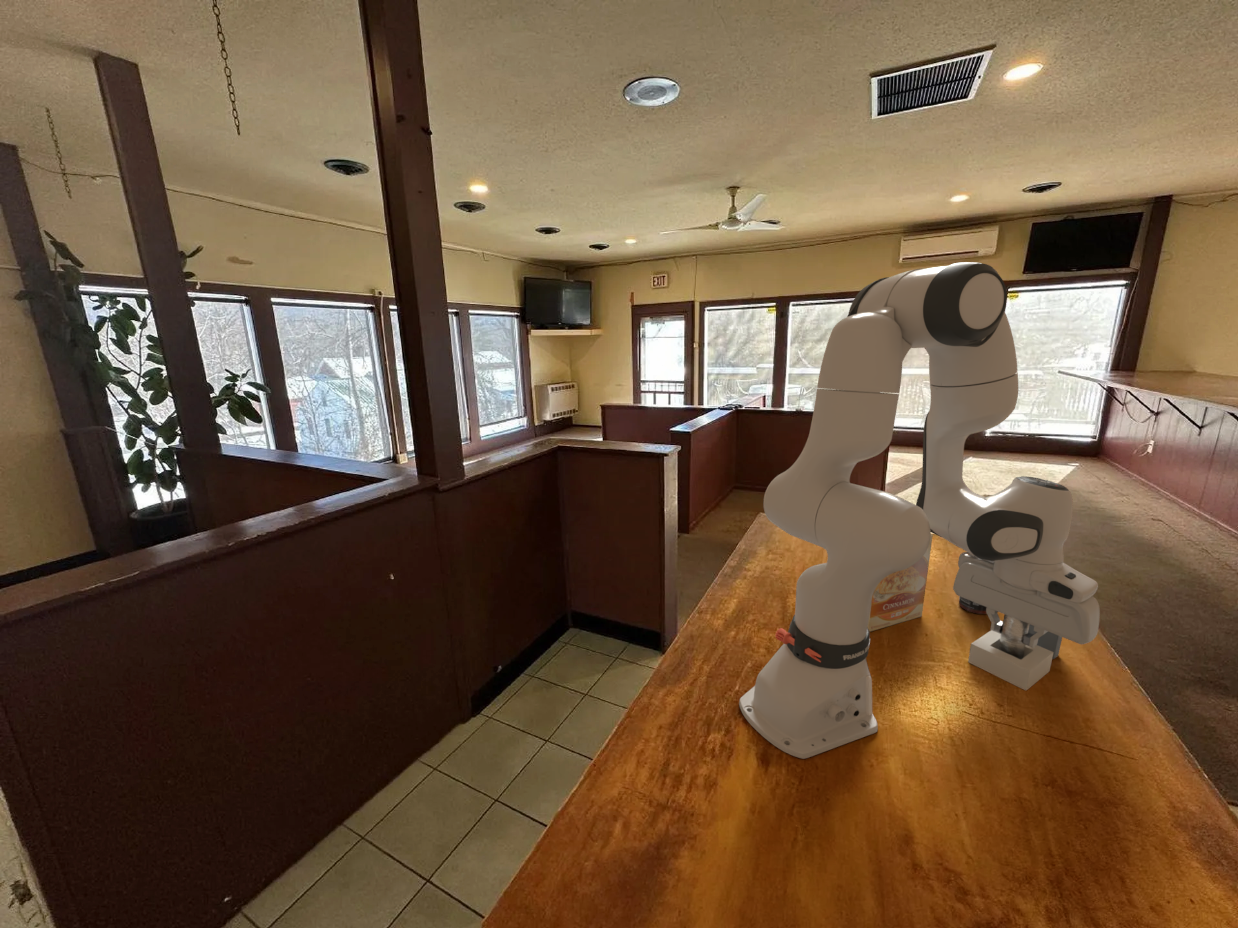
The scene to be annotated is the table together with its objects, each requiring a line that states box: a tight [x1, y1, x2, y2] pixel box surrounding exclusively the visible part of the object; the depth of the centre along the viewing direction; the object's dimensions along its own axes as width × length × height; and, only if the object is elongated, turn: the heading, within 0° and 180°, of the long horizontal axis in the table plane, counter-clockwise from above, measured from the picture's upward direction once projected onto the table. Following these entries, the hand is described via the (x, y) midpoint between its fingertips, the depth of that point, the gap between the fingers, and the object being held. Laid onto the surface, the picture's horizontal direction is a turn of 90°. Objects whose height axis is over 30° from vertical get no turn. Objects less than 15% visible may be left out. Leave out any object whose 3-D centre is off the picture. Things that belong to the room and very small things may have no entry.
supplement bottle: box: [958, 596, 987, 615], centre depth 106 cm, size 6×6×11 cm
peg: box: [998, 614, 1030, 659], centre depth 87 cm, size 4×4×10 cm
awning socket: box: [967, 624, 1063, 691], centre depth 89 cm, size 16×12×15 cm
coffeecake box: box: [867, 533, 934, 633], centre depth 104 cm, size 15×7×20 cm, turn 108°
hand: (1013, 637), depth 87 cm, fingers closed on peg, 4 cm apart
